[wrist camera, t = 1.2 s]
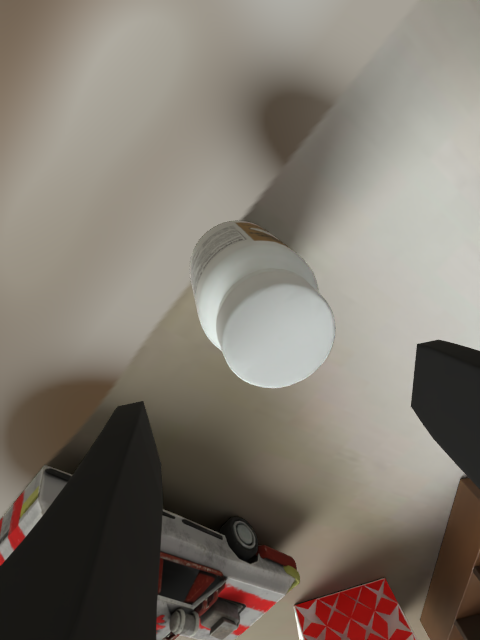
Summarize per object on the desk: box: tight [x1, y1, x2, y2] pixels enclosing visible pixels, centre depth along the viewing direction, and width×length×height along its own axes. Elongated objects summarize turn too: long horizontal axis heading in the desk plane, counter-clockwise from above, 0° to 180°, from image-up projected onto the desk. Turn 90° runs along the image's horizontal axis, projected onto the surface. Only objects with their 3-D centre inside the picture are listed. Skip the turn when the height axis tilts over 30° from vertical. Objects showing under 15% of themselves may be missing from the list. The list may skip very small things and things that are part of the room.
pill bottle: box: [190, 221, 336, 388], centre depth 14 cm, size 4×4×8 cm
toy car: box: [0, 465, 300, 640], centre depth 21 cm, size 8×18×8 cm, turn 49°
